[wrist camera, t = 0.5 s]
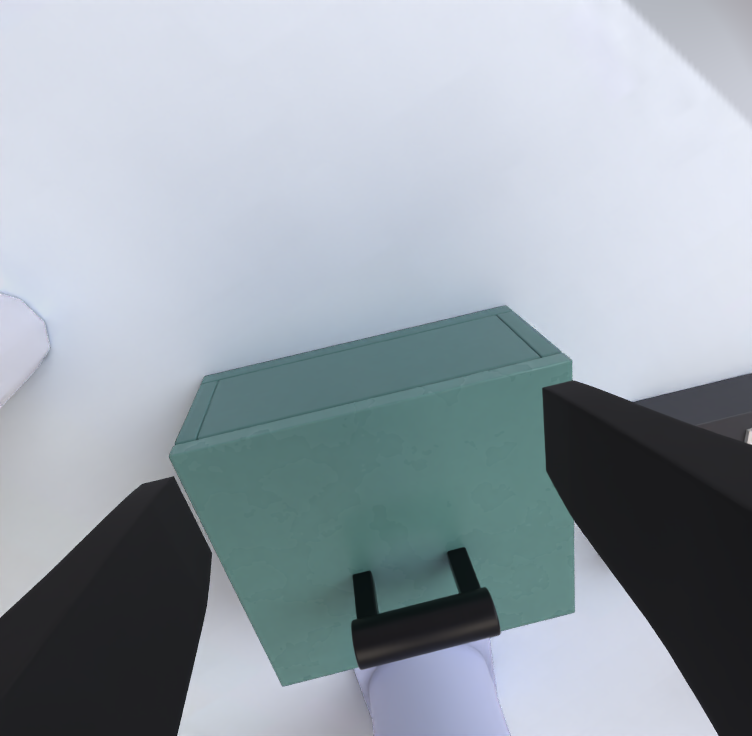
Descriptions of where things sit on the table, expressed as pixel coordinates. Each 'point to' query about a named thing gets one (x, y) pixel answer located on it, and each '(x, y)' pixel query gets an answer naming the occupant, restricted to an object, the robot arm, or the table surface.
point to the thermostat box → (711, 407)
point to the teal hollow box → (361, 371)
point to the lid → (390, 521)
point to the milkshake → (19, 345)
